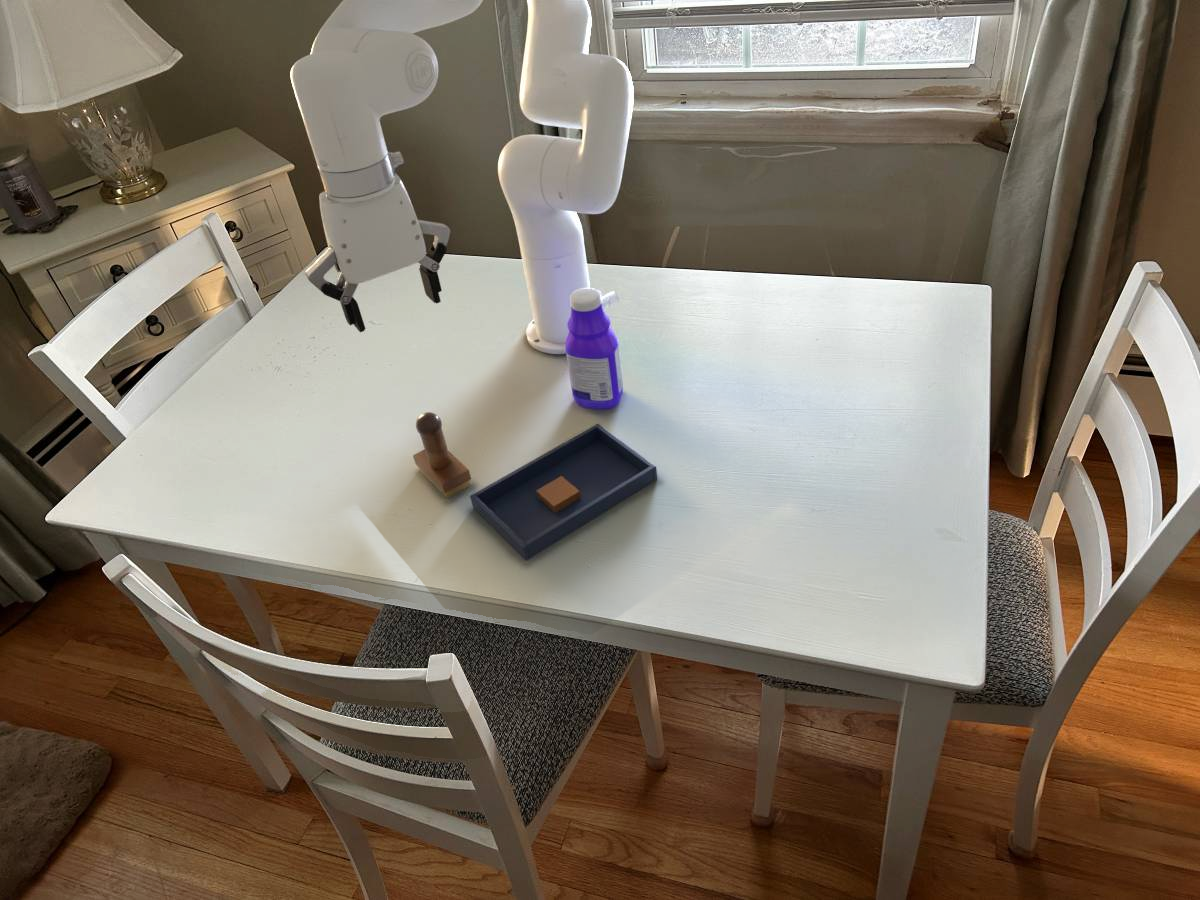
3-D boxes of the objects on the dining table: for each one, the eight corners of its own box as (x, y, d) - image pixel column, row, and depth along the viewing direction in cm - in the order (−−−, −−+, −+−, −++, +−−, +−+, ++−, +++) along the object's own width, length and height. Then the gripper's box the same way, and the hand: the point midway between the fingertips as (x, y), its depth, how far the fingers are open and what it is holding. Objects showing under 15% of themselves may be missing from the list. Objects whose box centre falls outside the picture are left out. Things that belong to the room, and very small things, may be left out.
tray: (600, 438, 123) (597, 423, 121) (657, 482, 115) (656, 466, 113) (474, 511, 115) (469, 495, 113) (526, 563, 107) (522, 547, 105)
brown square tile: (562, 482, 116) (561, 475, 115) (581, 497, 113) (579, 490, 113) (537, 497, 114) (535, 490, 114) (555, 513, 112) (553, 506, 111)
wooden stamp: (444, 458, 123) (424, 394, 116) (473, 487, 118) (455, 421, 111) (418, 472, 122) (397, 408, 115) (447, 502, 116) (427, 436, 109)
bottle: (629, 391, 130) (617, 285, 119) (617, 415, 126) (603, 308, 115) (582, 386, 132) (565, 281, 121) (569, 409, 128) (550, 304, 117)
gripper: (417, 143, 103) (449, 277, 114) (270, 189, 97) (318, 325, 108) (444, 161, 98) (474, 300, 109) (290, 211, 92) (338, 352, 103)
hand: (396, 312), depth 108 cm, fingers open, 9 cm apart
